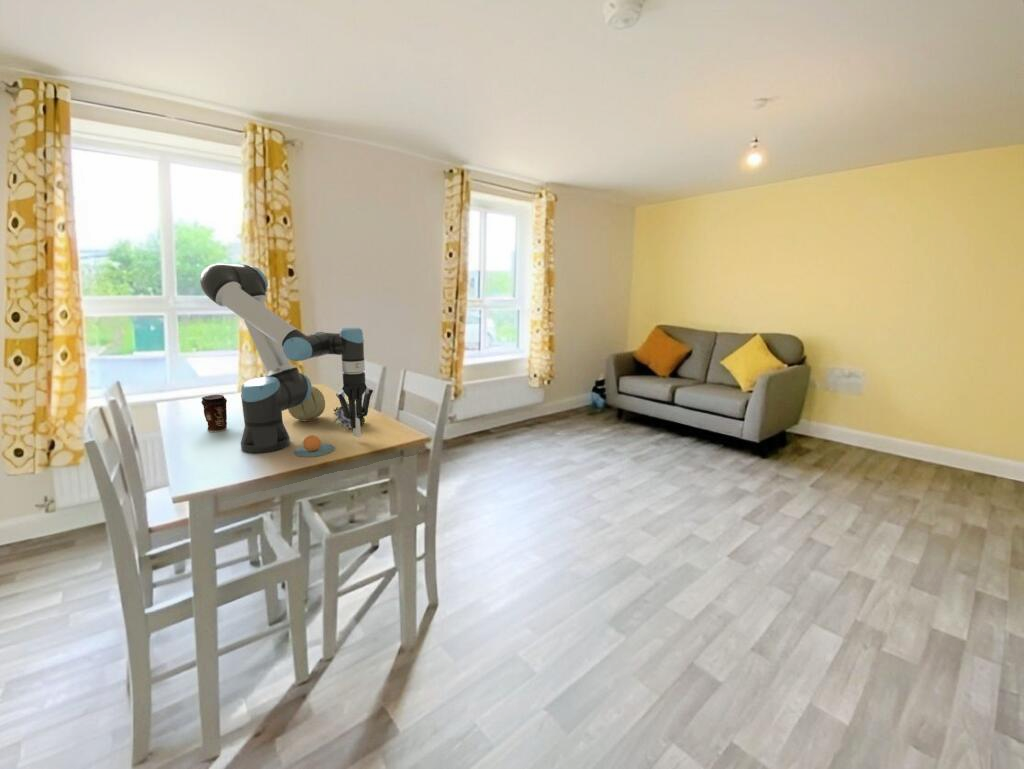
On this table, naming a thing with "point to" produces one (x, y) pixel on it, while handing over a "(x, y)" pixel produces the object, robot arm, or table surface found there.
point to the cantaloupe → (309, 407)
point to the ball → (311, 443)
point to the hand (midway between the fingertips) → (357, 435)
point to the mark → (321, 451)
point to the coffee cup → (215, 412)
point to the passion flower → (342, 418)
